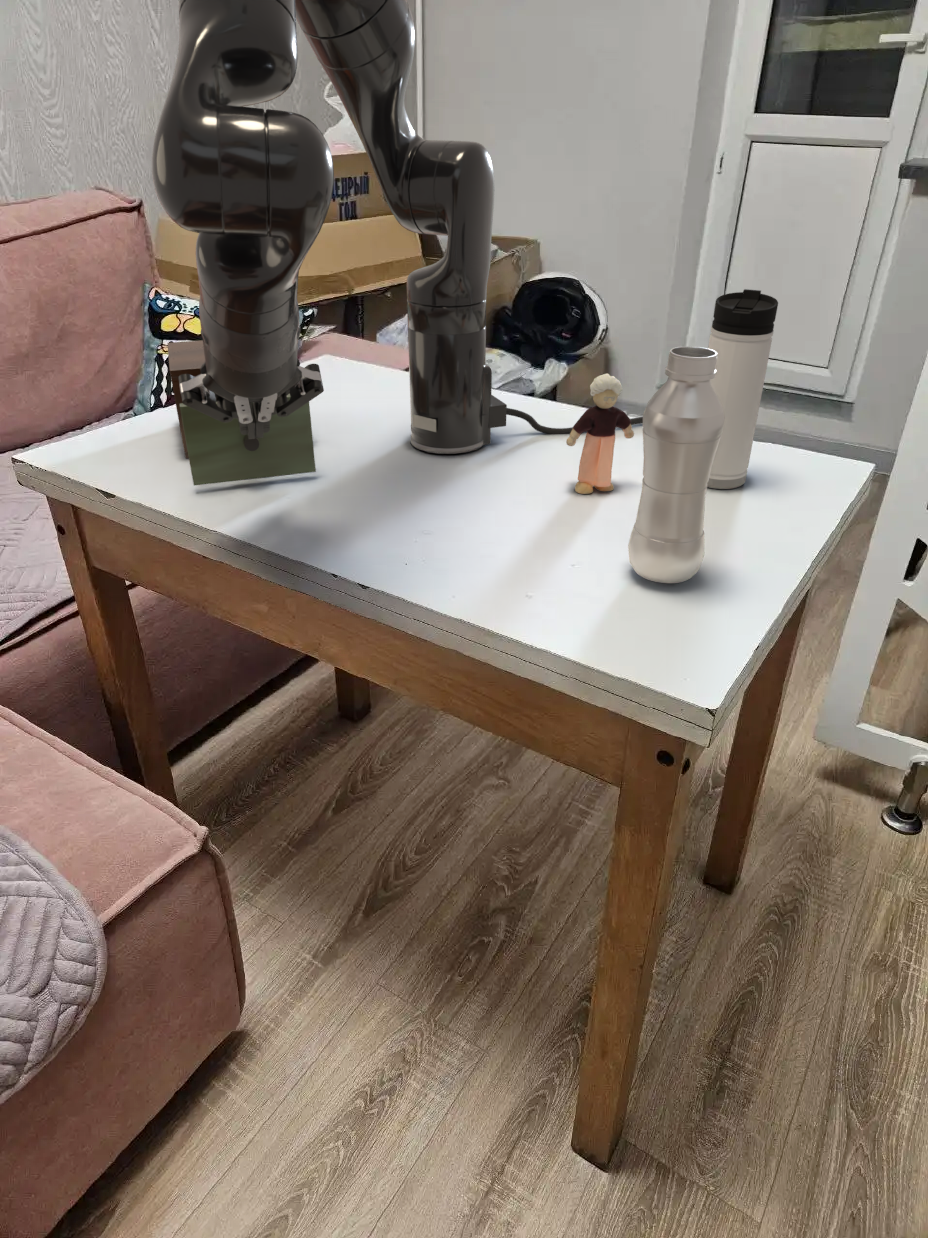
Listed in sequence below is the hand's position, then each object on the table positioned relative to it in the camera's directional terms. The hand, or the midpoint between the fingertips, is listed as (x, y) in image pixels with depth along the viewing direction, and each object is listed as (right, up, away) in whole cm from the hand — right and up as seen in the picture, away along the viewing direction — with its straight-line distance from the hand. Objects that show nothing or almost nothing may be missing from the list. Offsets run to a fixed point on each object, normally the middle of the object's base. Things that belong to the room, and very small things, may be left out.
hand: (253, 429), depth 83 cm
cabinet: (-8, +5, +26) cm, 28 cm away
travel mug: (+50, -3, +14) cm, 52 cm away
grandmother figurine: (+36, -4, +11) cm, 38 cm away
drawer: (-4, 0, +15) cm, 16 cm away
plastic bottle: (+39, -15, -6) cm, 42 cm away
